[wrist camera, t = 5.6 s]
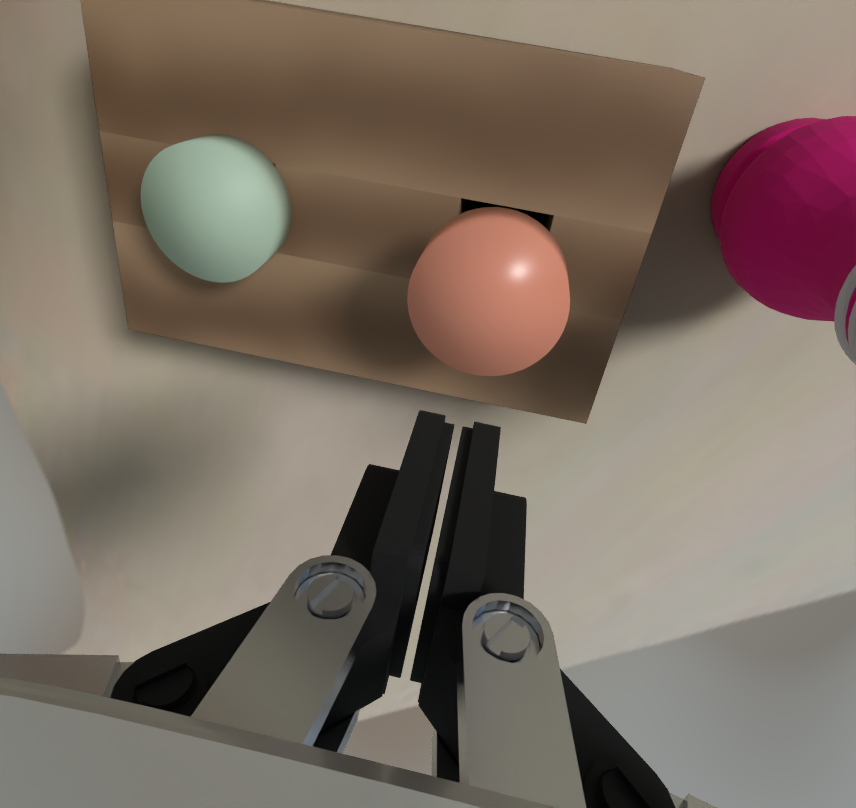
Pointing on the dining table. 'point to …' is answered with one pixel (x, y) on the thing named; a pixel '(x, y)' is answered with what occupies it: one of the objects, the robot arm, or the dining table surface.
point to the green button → (216, 207)
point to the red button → (490, 292)
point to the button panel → (383, 177)
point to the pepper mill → (794, 221)
